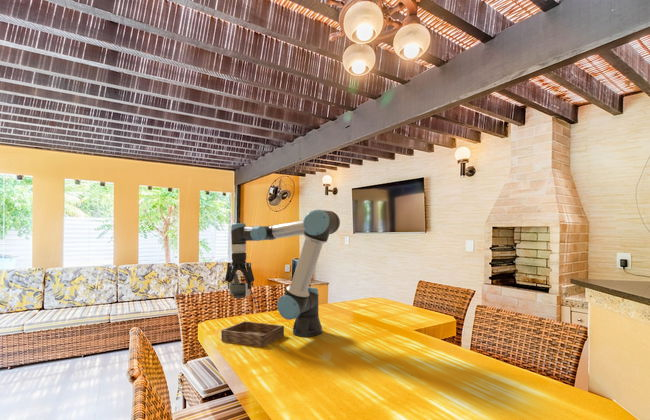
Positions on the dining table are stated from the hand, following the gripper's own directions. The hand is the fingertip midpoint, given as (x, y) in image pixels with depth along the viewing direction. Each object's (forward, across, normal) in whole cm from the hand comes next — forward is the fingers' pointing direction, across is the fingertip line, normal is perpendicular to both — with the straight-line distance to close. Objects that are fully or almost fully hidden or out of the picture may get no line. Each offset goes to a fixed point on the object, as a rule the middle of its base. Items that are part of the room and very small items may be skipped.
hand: (239, 294), depth 184 cm
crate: (+19, -13, +6) cm, 24 cm away
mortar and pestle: (+1, 0, 0) cm, 2 cm away
